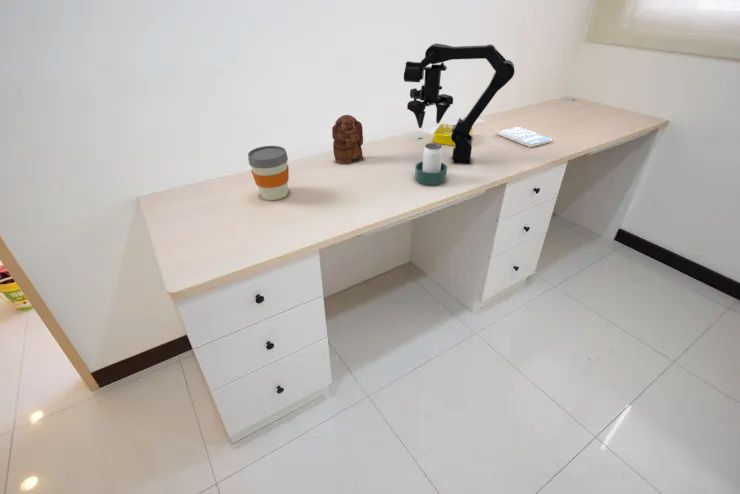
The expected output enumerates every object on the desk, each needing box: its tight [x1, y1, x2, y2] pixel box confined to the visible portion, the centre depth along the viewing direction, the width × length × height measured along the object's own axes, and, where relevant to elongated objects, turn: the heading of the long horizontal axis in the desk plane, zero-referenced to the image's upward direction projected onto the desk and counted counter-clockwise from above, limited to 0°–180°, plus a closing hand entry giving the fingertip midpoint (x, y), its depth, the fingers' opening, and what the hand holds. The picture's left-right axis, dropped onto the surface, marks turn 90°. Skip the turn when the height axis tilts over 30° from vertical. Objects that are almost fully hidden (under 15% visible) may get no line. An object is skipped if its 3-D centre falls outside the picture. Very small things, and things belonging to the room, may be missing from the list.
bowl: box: [414, 160, 448, 187], centre depth 135 cm, size 11×11×5 cm
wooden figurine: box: [331, 114, 364, 165], centre depth 147 cm, size 12×6×18 cm, turn 120°
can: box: [422, 142, 443, 173], centre depth 133 cm, size 6×6×12 cm
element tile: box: [433, 123, 473, 147], centre depth 168 cm, size 15×15×5 cm
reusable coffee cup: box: [247, 145, 290, 201], centre depth 125 cm, size 13×13×15 cm
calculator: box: [498, 126, 553, 148], centre depth 169 cm, size 13×20×2 cm, turn 29°
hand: (428, 125), depth 146 cm, fingers open, 9 cm apart
